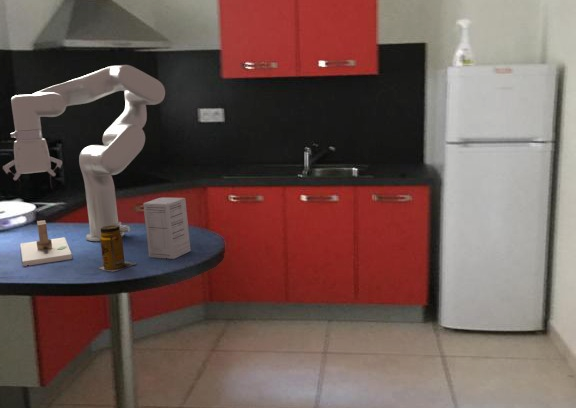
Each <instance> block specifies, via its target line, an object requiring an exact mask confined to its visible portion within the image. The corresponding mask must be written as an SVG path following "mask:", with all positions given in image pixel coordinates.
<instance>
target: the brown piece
mask: <svg viewBox="0 0 576 408" xmlns="http://www.w3.org/2000/svg"><path fill="white" fill-rule="evenodd" d="M36 223H37V224H36V225H37V232H38V240H37V249H39V250H44V253H46V252H48V250H47V249H49V248H52V242H51V239H52V238H51V239H50V238H49V237H48V236H49V235H48V229H47V228H48V227H47V222H46V220H37V221H36Z"/></svg>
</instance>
